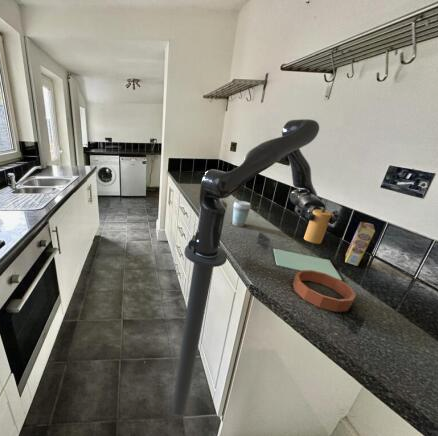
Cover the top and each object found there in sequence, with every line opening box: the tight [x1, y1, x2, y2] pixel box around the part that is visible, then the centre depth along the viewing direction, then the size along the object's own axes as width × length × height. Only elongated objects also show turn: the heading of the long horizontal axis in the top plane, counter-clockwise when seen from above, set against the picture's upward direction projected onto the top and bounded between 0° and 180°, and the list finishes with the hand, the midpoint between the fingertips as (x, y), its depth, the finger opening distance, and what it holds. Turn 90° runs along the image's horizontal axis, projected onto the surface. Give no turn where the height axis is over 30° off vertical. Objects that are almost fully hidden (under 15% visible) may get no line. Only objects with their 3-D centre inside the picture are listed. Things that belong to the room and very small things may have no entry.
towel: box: [272, 248, 343, 281], centre depth 88 cm, size 20×14×1 cm
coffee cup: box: [231, 200, 252, 227], centre depth 120 cm, size 8×9×12 cm
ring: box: [292, 270, 357, 313], centre depth 71 cm, size 15×15×4 cm
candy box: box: [344, 221, 376, 267], centre depth 90 cm, size 9×4×15 cm, turn 140°
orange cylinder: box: [303, 208, 332, 245], centre depth 82 cm, size 5×5×12 cm
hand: (322, 219), depth 79 cm, fingers closed on orange cylinder, 5 cm apart
